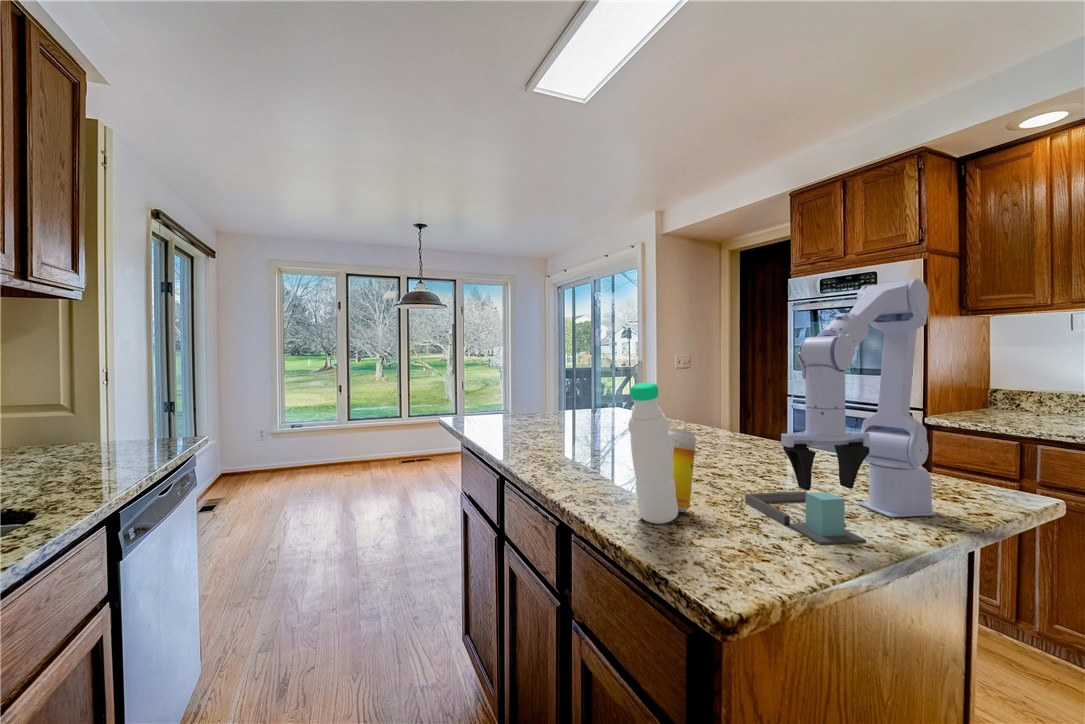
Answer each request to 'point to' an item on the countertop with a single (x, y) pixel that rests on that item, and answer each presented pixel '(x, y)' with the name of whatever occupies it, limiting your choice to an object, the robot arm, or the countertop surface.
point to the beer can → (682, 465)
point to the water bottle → (652, 456)
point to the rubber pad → (820, 540)
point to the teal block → (825, 514)
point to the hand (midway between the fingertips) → (825, 487)
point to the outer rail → (762, 499)
